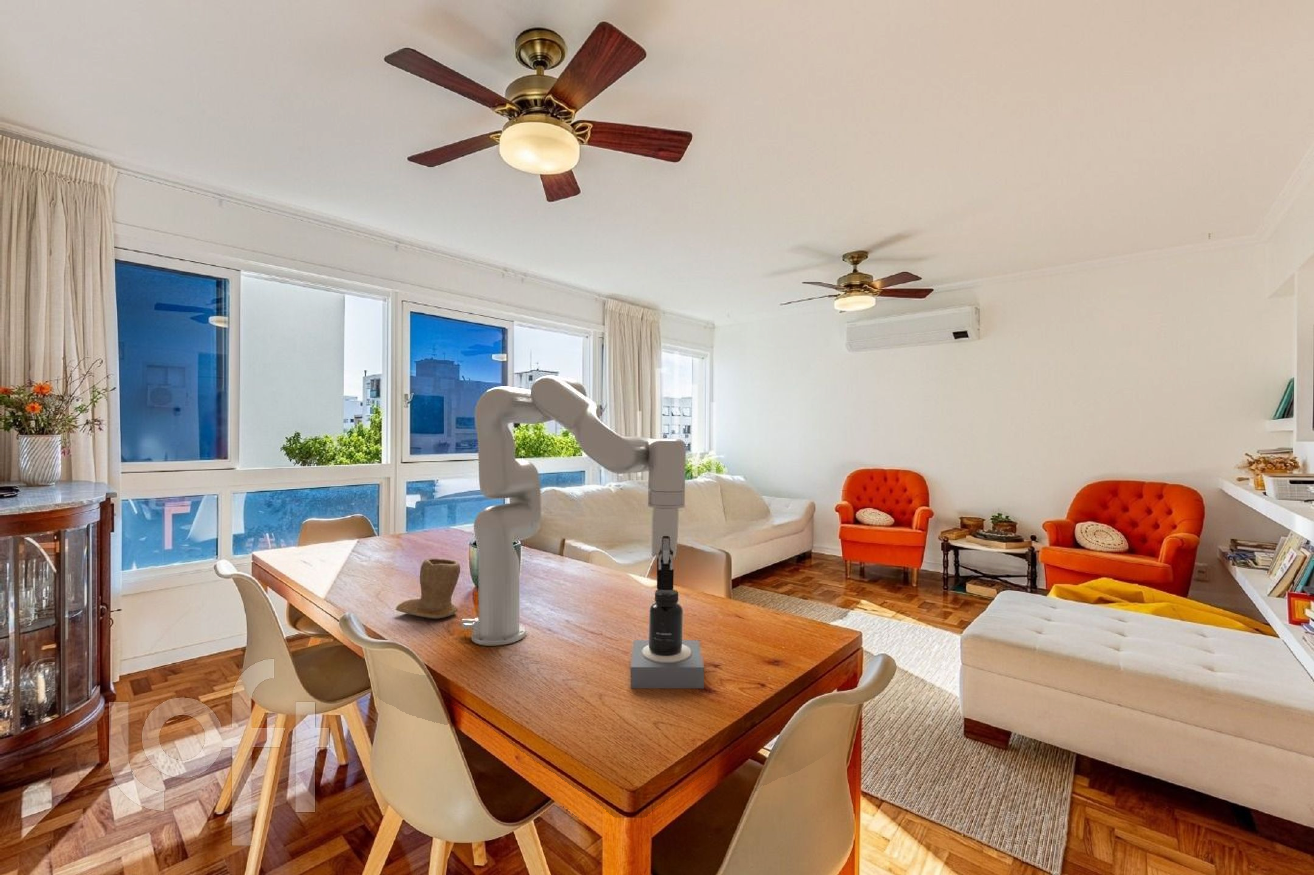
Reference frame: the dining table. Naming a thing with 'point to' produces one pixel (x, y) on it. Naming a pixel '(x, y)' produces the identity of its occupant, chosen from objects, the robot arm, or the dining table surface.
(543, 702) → the dining table surface
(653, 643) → the supplement bottle
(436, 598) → the tan flared hollow piece
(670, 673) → the plinth
